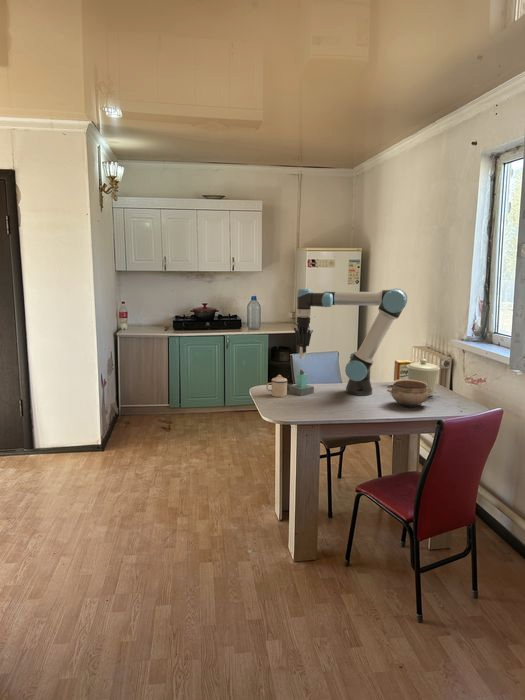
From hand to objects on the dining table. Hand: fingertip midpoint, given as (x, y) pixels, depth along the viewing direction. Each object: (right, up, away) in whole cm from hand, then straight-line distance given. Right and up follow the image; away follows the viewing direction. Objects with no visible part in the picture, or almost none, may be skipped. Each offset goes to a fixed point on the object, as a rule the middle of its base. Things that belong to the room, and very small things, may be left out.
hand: (302, 357), depth 294 cm
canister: (+68, -21, +4) cm, 72 cm away
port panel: (0, -20, +3) cm, 20 cm away
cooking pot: (+55, -25, -19) cm, 63 cm away
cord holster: (-6, -19, +11) cm, 23 cm away
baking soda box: (+63, -18, +24) cm, 70 cm away
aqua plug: (0, -20, +3) cm, 20 cm away
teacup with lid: (-15, -21, -3) cm, 26 cm away
